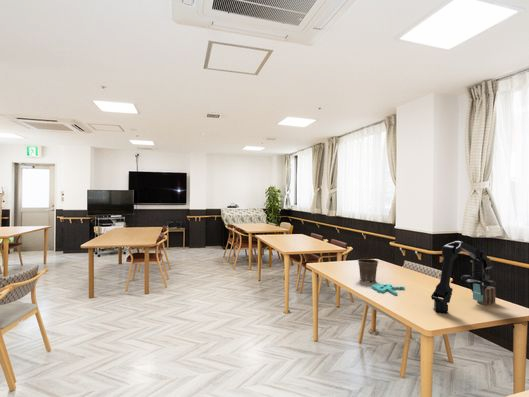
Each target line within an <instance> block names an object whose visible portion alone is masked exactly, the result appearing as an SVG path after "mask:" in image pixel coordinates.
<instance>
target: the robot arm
mask: <svg viewBox="0 0 529 397" xmlns="http://www.w3.org/2000/svg"><path fill="white" fill-rule="evenodd" d="M461 252H465V253H467V254H468V256H470V258H472V259H471V260H470V262H469V263H472V270H470V273H472V275H469V274H463V275H461V277H460V279H461V280H462V281H465V282H466V283H467V285H468V286H469V288H470V291H471V292H472V293H473V284H477V283H479V285H480V291H481V295H483V294H484V292H485V290H486V288H487V287H496V286H497V283H496V281H495V280H491V279H490V278H491V276H490V275H489V274H486V271H484V270H487V269H492V268H493V267H494V262H492V260H491V259H490V257H488V256H487V253H486V251H485V250H481V249H477V248H474V247H472V246H471V245H469V244H467V243H465V242H464V241H462V240H461V241H460V240H455V241H453V242H450V243H447V244H445V245H443V246H442V248H441V255H442V258H443V262H442V269H441V275H440V278H439V279H440V280H439V281H440V282H439V283H438V284H437V285H436V286H435V289H434V291H433V292H432V294H431V295H430V297H431V300H432V301H433V308H432V310H433V311H434V312H435V313H438V314H440V313H441V314H449V303H450V302H451V298H452V296H453V287H451V286H450V282H451V278H452V270H453V265H454V261H455V260H456V259H457V257H458V255H459V254H460V253H461ZM480 283H481V284H480Z"/></svg>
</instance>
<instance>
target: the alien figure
mask: <svg viewBox="0 0 529 397" xmlns="http://www.w3.org/2000/svg"><path fill="white" fill-rule="evenodd" d="M371 289H372V290H374V289H375V290H377V291H376V293H380V292H383V293H382V294H384V293H386V292H388V293H390V292H391V293H390V294H391V295H393V296H398V291H400V290H403V291H404V290H405V289H406V288H405V286H393V284H391V283H382V284H381V283H374V284H372V285H371ZM392 289H393V290H392ZM396 289H398V290H397V291H396ZM375 290H374V291H375ZM385 291H386V292H385Z"/></svg>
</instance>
